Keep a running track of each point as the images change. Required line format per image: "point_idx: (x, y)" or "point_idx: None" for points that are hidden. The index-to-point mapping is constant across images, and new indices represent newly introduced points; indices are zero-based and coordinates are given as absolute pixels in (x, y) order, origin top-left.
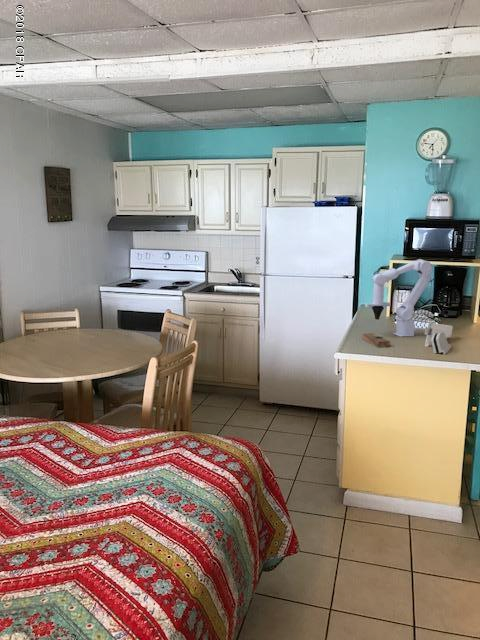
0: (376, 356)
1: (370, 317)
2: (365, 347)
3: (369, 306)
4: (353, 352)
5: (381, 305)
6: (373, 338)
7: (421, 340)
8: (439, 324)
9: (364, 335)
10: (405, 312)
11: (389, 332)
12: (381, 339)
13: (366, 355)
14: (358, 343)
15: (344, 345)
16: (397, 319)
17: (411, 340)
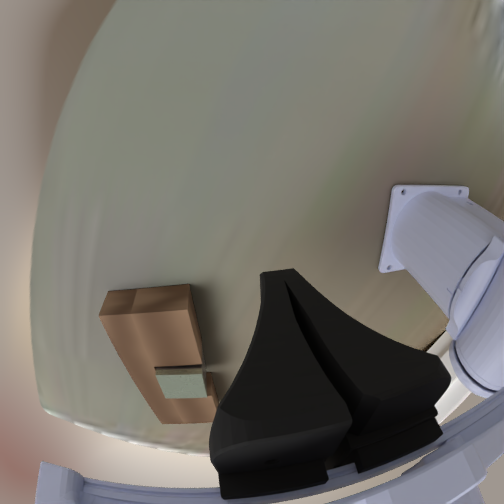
0: (138, 444)
1: None
2: (112, 396)
3: (123, 499)
4: (74, 416)
5: (423, 452)
6: (151, 395)
7: (409, 328)
8: (452, 411)
9: (111, 338)
10: (481, 387)
11: (394, 139)
12: (187, 408)
13: (111, 436)
14: (85, 354)
15: (35, 362)
16: (458, 290)
17: (375, 330)
